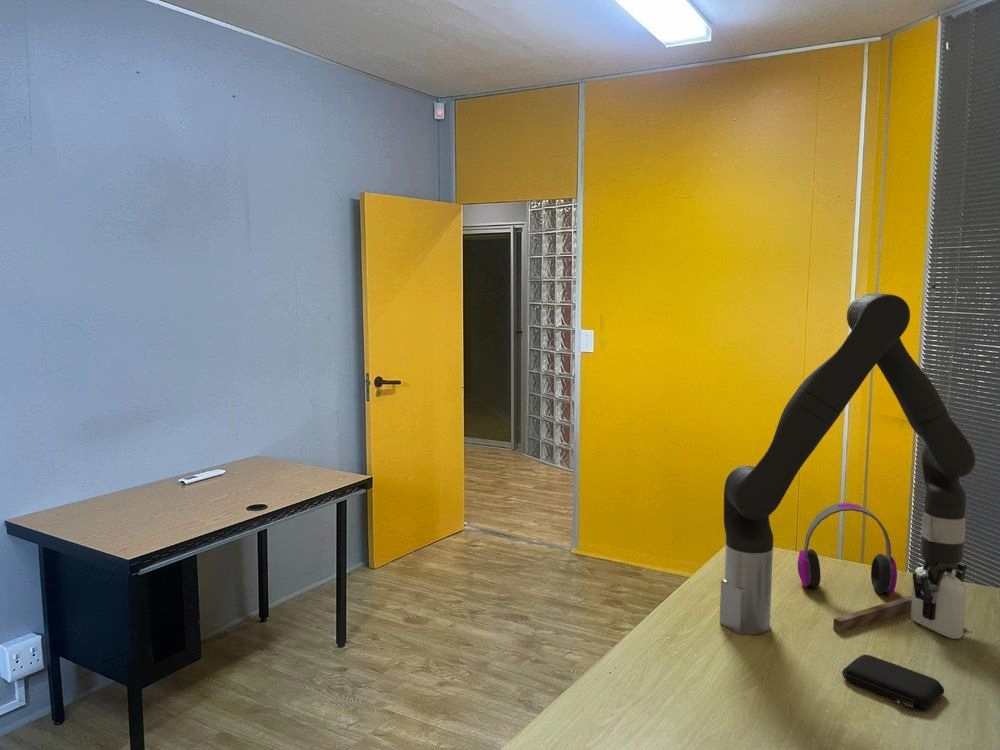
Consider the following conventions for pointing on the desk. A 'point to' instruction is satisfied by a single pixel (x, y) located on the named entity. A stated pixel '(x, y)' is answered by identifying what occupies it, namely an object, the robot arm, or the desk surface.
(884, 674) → the carrying case or bag
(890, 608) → the brown l-shaped block
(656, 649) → the desk surface
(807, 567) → the headphones
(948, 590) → the photo printer
